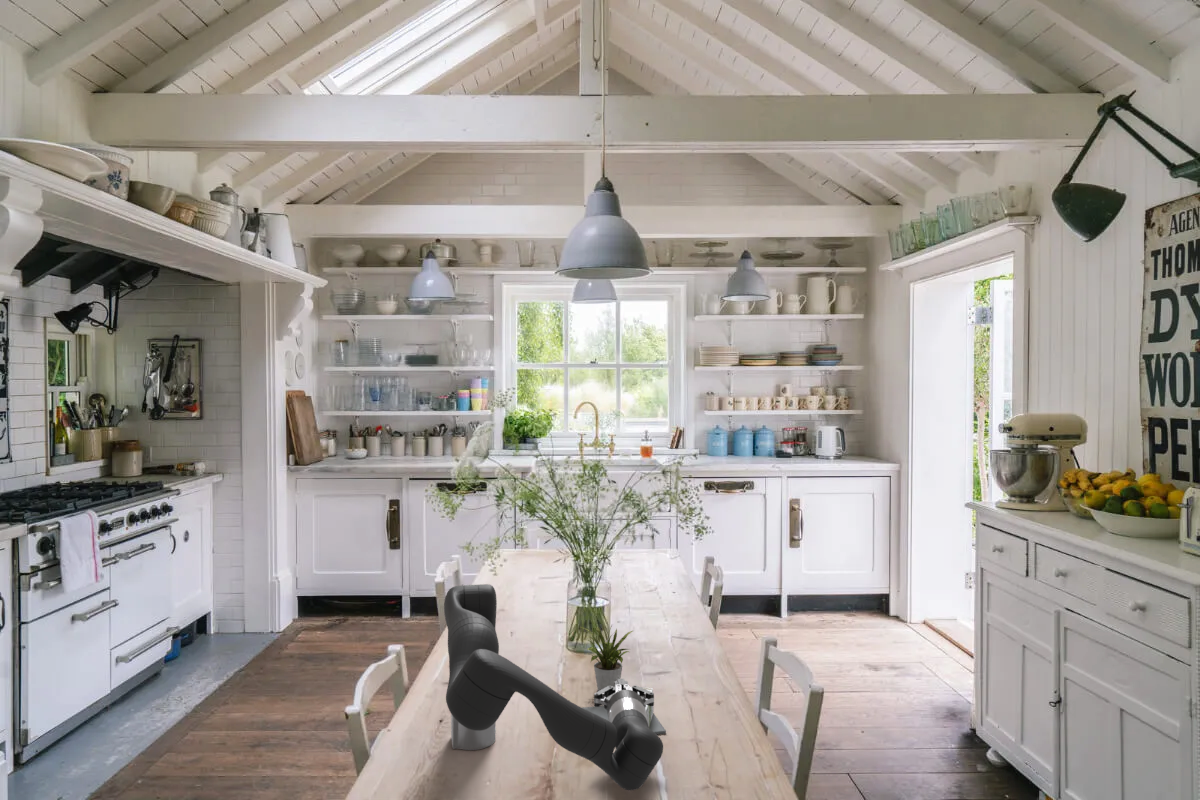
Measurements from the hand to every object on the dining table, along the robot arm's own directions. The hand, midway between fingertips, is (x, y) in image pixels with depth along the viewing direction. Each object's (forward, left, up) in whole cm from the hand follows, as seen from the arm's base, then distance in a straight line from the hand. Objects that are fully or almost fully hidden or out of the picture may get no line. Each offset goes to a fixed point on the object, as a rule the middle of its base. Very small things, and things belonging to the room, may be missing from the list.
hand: (620, 683), depth 173 cm
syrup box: (+2, -4, -8) cm, 9 cm away
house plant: (+2, +25, -12) cm, 28 cm away
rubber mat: (0, +7, -11) cm, 13 cm away
